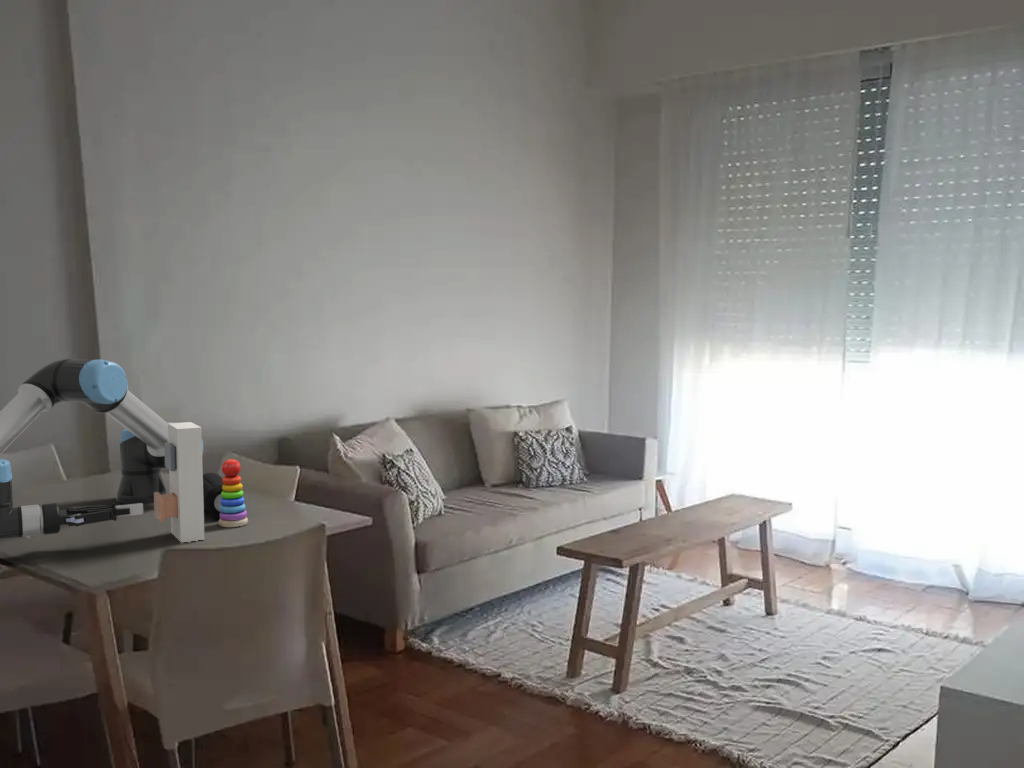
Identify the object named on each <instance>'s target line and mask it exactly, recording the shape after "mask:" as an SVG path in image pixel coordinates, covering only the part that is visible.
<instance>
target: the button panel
mask: <svg viewBox="0 0 1024 768" xmlns="http://www.w3.org/2000/svg"><path fill="white" fill-rule="evenodd" d="M202 430H203V429H202V426H200V425H198V424H196V423H194V422H192V421H186V422H183V421H182V422H173V423H168V443H170V444H171V445H174V446H175V447H176V464H177V468H175V471H170V470H169V469H168V471H169V472H168V473H169V479H168V481H169V494H173V493H174V494H175V495H177V498H178V517H170V533H172V534H173V535H174V536H175V537H176V538H177V539H178V540H179V541H180V542H188V543H192V542H191V541H196V542H199V541H198V540H204V541H205V511H204V510H205V508H204V501H203V474H204V472H203V471H204V470H203V469H204V467H203V466H204V465H203V454H202V440H203V435H202V432H203V431H202ZM172 534H171V535H172ZM173 535H172V536H173ZM174 536H173V537H174ZM175 537H174V538H175ZM176 538H175V539H176ZM177 539H176V540H177ZM178 540H177V541H178ZM179 541H178V542H179ZM180 542H179V543H180Z"/></svg>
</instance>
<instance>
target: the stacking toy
mask: <svg viewBox="0 0 1024 768" xmlns="http://www.w3.org/2000/svg"><path fill="white" fill-rule="evenodd" d="M241 467H242V466H241V463H240V462H239V461H238V460H237V459H233V458H230V459H226V460H224V462H222V465H221V472H222V473H223V475H224V476H223V477H222V478H223V479H222V481H223V483H224V484H223V486H222V489H223V490H224V491H222V492H221V496H222V498H221V500H220V502H221V504H222V505H221V506H220V511H221V513H220V519H219V518H218V519H219V520H218V525H219V526H220V527H223V528H238V527H239V526H240V527H243V526H245V525H247V524H248V523H249V519H248V517H247V516H248V511H247V510H246V504H245V498H244V491H243V487H244V485H243V484H242V483H241V482H242V477H241V476H240V475H239V474H240V472H241V470H242V468H241Z"/></svg>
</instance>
